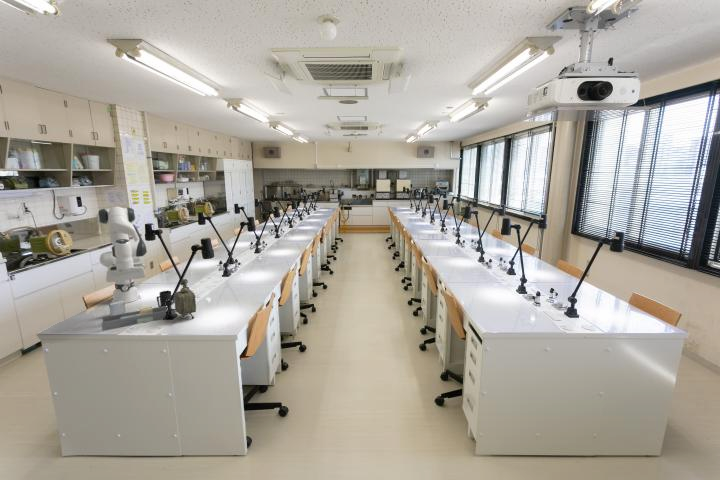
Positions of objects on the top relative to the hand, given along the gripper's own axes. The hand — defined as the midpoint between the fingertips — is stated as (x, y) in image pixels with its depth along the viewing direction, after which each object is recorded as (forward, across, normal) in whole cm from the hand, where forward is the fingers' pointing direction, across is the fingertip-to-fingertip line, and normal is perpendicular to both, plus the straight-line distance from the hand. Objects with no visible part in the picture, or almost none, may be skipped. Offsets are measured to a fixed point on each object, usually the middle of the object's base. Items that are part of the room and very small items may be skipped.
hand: (127, 286), depth 209 cm
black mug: (+24, -20, -14) cm, 34 cm away
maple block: (+21, -8, 0) cm, 23 cm away
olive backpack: (+24, -30, +11) cm, 40 cm away
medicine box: (+24, +7, -19) cm, 31 cm away
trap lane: (+24, -3, 0) cm, 24 cm away
